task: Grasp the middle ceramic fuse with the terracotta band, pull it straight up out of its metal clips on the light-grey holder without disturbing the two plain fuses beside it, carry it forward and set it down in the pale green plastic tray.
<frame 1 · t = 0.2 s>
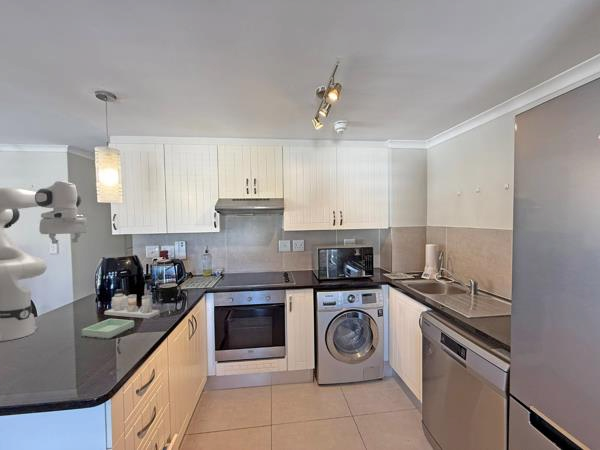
hand: (65, 243, 132), 48 cm above the worktop, fingers open, 8 cm apart
medicine bottle: (119, 307, 185), on the worktop
mug: (168, 301, 199), on the worktop
fuse marked: (132, 310, 171), point 2 cm above the worktop, touching holder
fuse right: (146, 311, 169), point 2 cm above the worktop, touching holder
tray: (109, 331, 144), on the worktop
fuse left: (118, 309, 173), point 2 cm above the worktop, touching holder
holder: (132, 314, 171), on the worktop
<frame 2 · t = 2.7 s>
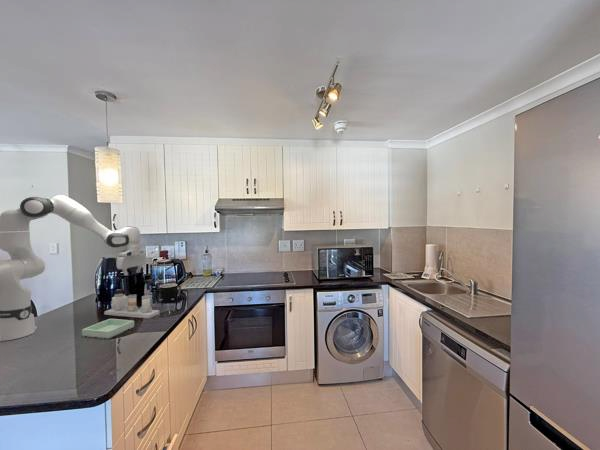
hand: (132, 273, 171), 25 cm above the worktop, fingers open, 8 cm apart
nothing on the worktop moved.
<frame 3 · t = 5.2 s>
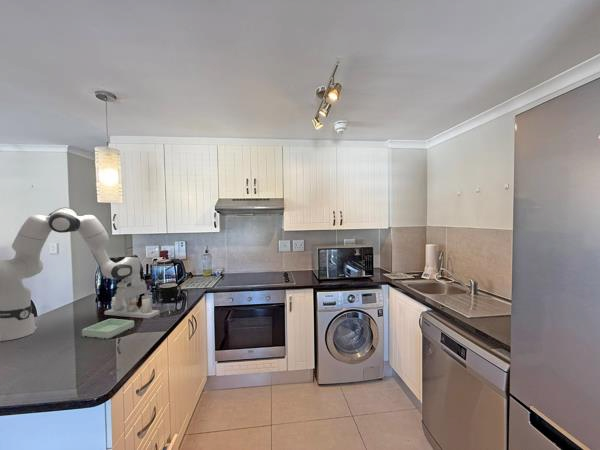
hand: (132, 303, 171), 7 cm above the worktop, fingers closed on fuse marked, 5 cm apart
fuse marked: (132, 310, 171), point 2 cm above the worktop, touching gripper, holder
everything else where it was.
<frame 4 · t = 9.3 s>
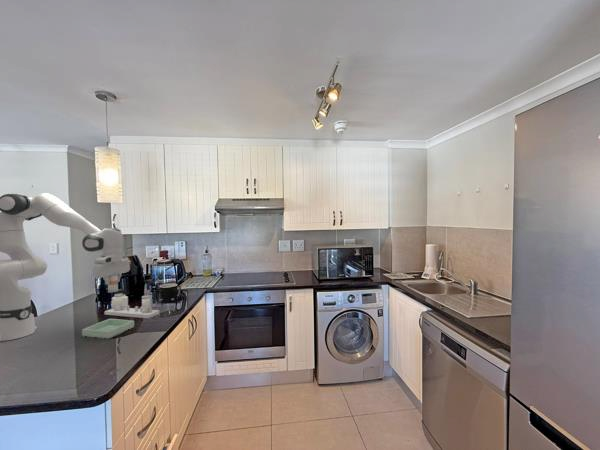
hand: (112, 283, 147), 25 cm above the worktop, fingers closed on fuse marked, 5 cm apart
fuse marked: (113, 291, 147), point 20 cm above the worktop, touching gripper
everything else where it was.
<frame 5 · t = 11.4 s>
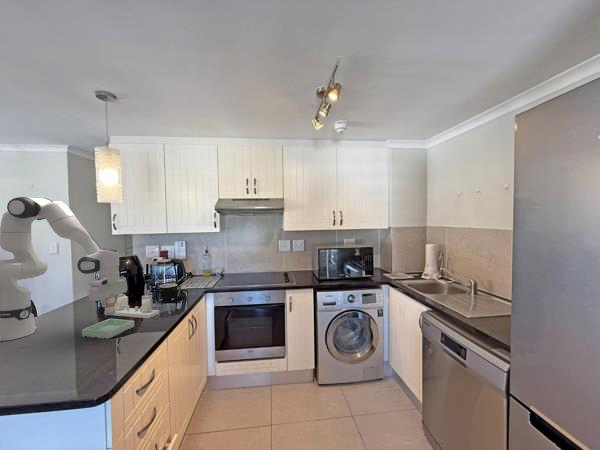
hand: (109, 305, 144), 14 cm above the worktop, fingers closed on fuse marked, 5 cm apart
fuse marked: (110, 313, 144), point 9 cm above the worktop, touching gripper
everything else where it was.
when the fingers open (7 cm above the worktop, at t = 13.3 s): fuse marked drops 2 cm, resting on tray.
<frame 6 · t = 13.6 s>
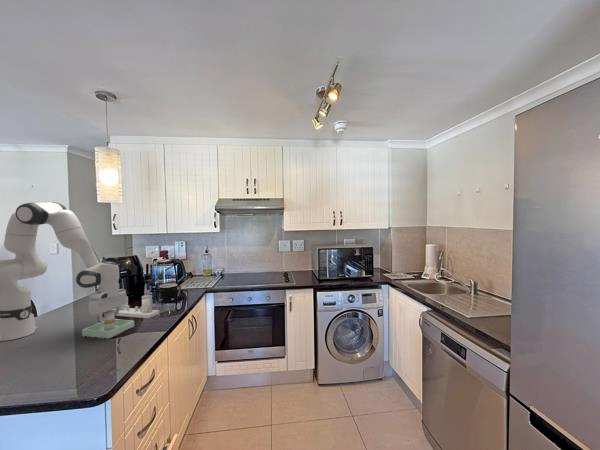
hand: (109, 318, 144), 7 cm above the worktop, fingers open, 7 cm apart
fuse marked: (109, 330, 144), point 1 cm above the worktop, touching tray
everything else where it was.
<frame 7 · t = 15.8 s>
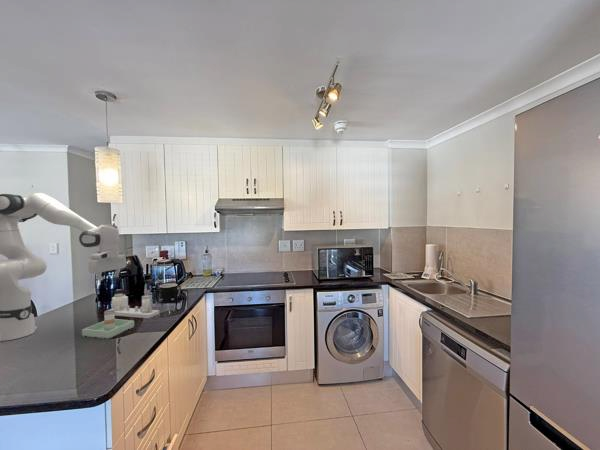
hand: (108, 278, 149), 27 cm above the worktop, fingers open, 8 cm apart
nothing on the worktop moved.
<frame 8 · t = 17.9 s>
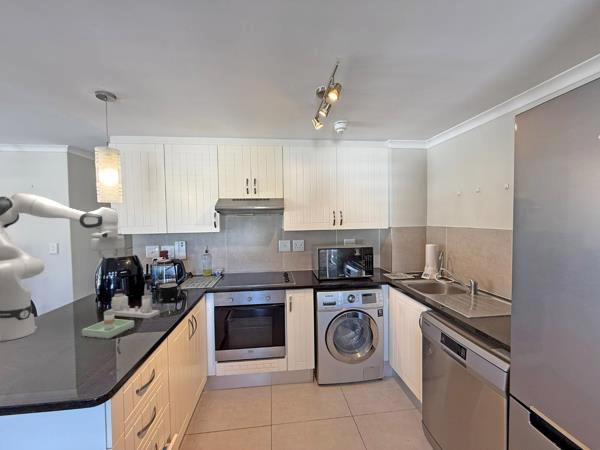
hand: (109, 257, 162), 37 cm above the worktop, fingers open, 8 cm apart
nothing on the worktop moved.
at the end: fuse marked inside the target area on the tray (0.3 cm from its centre), point 0.7 cm above the tray's base; fuse left moved 0.0 cm from its start; fuse right moved 0.0 cm from its start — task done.
